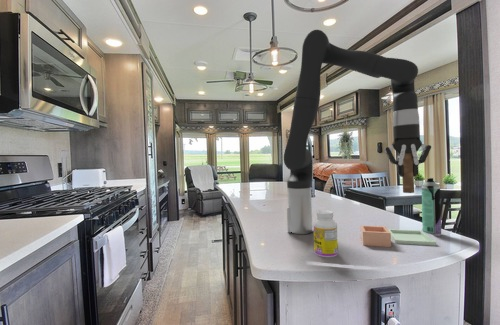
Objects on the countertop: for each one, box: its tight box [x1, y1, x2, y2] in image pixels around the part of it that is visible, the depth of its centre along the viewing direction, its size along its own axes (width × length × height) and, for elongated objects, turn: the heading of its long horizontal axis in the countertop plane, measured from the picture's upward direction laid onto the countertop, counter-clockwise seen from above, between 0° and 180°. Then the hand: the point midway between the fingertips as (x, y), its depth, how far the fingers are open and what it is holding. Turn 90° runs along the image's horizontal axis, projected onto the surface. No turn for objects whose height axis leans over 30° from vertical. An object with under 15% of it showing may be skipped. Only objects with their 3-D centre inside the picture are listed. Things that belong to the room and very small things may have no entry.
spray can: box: [421, 177, 442, 237], centre depth 92 cm, size 6×6×20 cm
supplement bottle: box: [312, 209, 339, 258], centre depth 75 cm, size 7×7×13 cm
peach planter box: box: [359, 224, 392, 248], centre depth 83 cm, size 8×8×5 cm
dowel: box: [402, 153, 415, 194], centre depth 85 cm, size 3×3×13 cm
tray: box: [387, 228, 437, 247], centre depth 85 cm, size 11×13×2 cm
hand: (408, 176), depth 85 cm, fingers closed on dowel, 3 cm apart
